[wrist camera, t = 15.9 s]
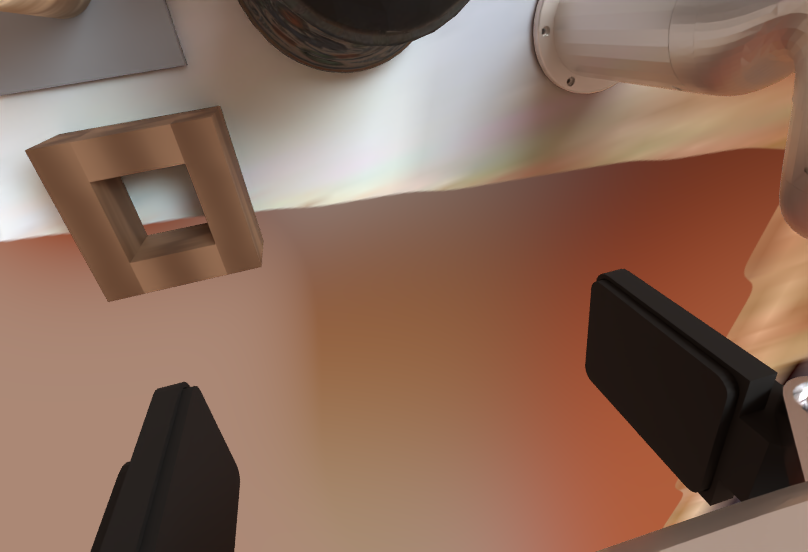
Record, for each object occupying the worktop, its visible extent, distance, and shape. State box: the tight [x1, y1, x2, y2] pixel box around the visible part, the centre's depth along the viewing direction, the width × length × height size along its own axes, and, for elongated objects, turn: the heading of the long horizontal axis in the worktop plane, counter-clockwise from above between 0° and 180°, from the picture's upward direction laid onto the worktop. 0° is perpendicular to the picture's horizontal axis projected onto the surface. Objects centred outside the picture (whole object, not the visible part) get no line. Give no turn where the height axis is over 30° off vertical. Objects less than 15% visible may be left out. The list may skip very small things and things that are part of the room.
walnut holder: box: [25, 106, 263, 302], centre depth 39 cm, size 13×13×6 cm
